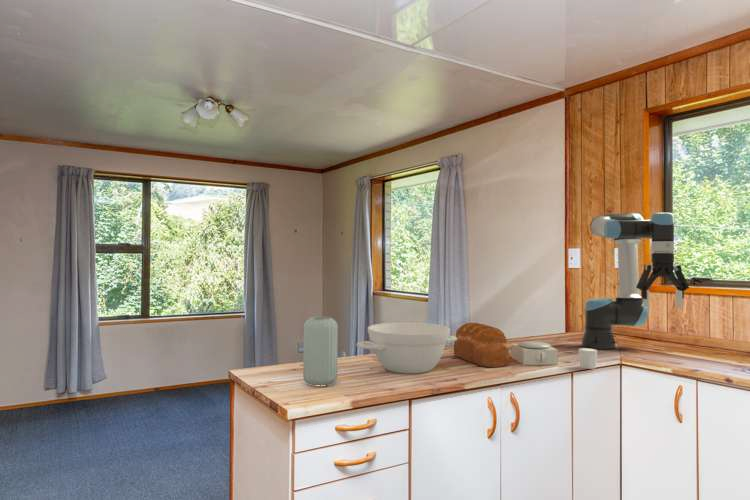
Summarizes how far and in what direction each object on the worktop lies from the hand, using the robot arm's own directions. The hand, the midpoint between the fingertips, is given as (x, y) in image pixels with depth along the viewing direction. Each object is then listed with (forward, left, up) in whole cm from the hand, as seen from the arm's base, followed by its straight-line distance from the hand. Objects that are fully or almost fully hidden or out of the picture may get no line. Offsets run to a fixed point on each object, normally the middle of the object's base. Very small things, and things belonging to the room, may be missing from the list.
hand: (662, 307), depth 192 cm
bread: (-19, -66, -24) cm, 73 cm away
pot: (-6, -99, -24) cm, 102 cm away
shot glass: (-5, -28, -24) cm, 37 cm away
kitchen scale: (-17, -45, -24) cm, 53 cm away
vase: (+15, -132, -24) cm, 135 cm away
